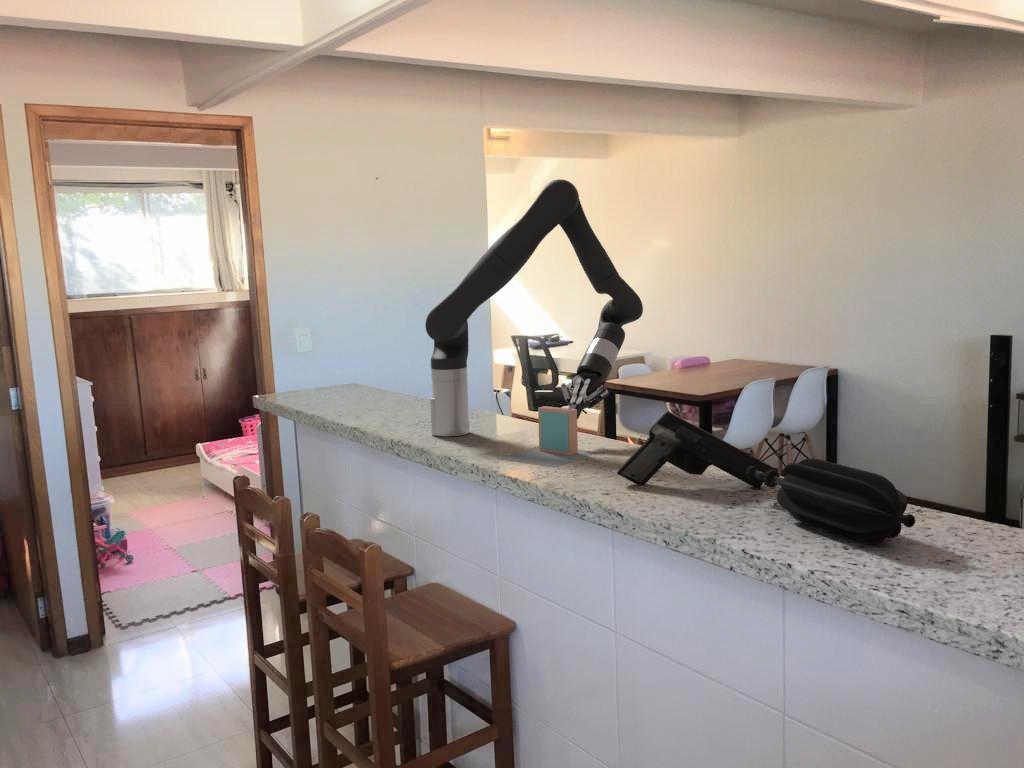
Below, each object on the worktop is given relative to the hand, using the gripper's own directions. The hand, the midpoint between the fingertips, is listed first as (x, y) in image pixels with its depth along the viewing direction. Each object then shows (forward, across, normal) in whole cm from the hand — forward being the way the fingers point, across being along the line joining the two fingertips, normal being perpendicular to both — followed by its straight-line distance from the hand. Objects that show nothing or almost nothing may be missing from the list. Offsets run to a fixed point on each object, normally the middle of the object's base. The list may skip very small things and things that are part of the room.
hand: (570, 419), depth 193 cm
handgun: (+16, +38, -6) cm, 42 cm away
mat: (+11, 0, -2) cm, 11 cm away
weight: (+24, +66, -14) cm, 72 cm away
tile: (+8, 0, +1) cm, 8 cm away
